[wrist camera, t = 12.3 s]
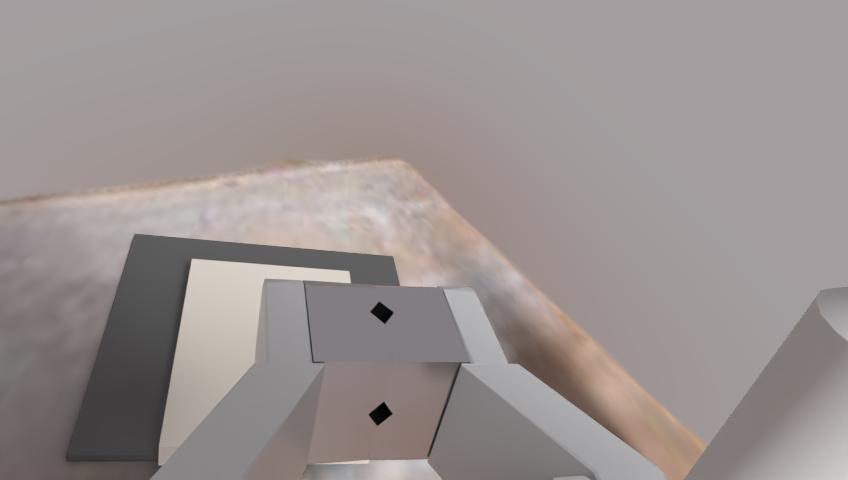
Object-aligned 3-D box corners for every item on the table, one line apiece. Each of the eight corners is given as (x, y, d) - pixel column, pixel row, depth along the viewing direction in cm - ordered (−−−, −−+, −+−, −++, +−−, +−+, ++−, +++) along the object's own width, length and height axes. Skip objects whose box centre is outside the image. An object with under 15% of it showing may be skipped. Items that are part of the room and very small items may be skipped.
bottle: (698, 639, 30) (1167, 182, 16) (614, 545, 33) (950, 94, 19) (750, 584, 33) (1179, 162, 19) (669, 503, 36) (991, 89, 22)
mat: (67, 460, 29) (66, 455, 29) (134, 238, 43) (134, 233, 43) (437, 458, 34) (439, 453, 34) (391, 260, 48) (393, 256, 48)
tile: (158, 446, 29) (192, 258, 40) (158, 467, 30) (190, 277, 41) (374, 446, 32) (349, 271, 43) (367, 465, 33) (345, 288, 44)
